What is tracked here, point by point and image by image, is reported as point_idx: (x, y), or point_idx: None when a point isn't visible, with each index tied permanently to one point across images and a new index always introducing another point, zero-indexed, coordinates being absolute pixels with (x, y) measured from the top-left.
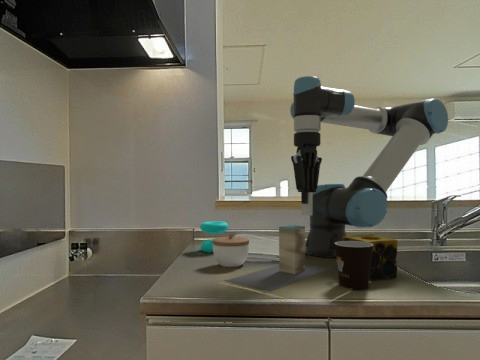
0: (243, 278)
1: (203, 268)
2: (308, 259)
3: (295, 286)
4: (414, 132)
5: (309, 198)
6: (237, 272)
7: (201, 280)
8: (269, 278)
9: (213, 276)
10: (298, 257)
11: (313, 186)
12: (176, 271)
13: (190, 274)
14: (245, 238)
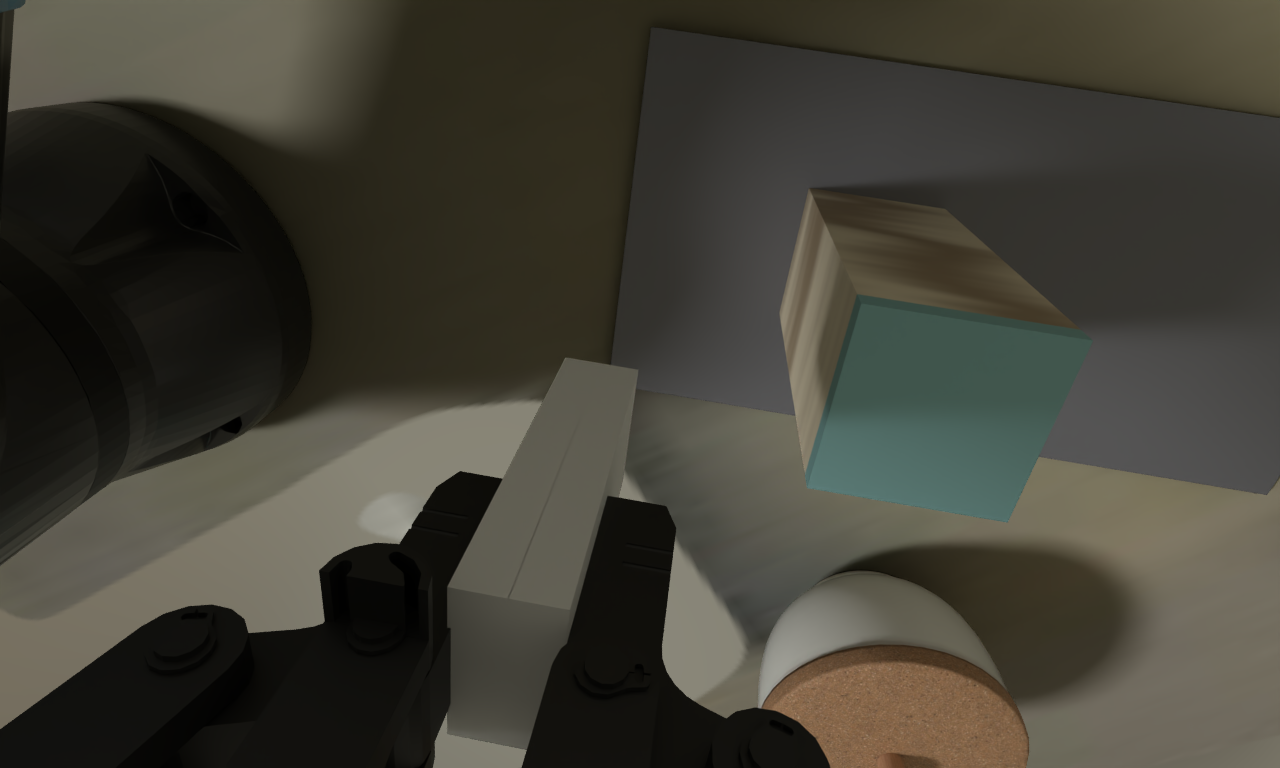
0: (1185, 432)
1: None
2: (425, 320)
3: (1255, 71)
4: None
5: (596, 524)
6: (998, 529)
7: (1250, 596)
8: (1136, 301)
9: (1140, 587)
10: (923, 230)
11: (307, 703)
12: (1093, 756)
13: (1134, 686)
14: (817, 701)
